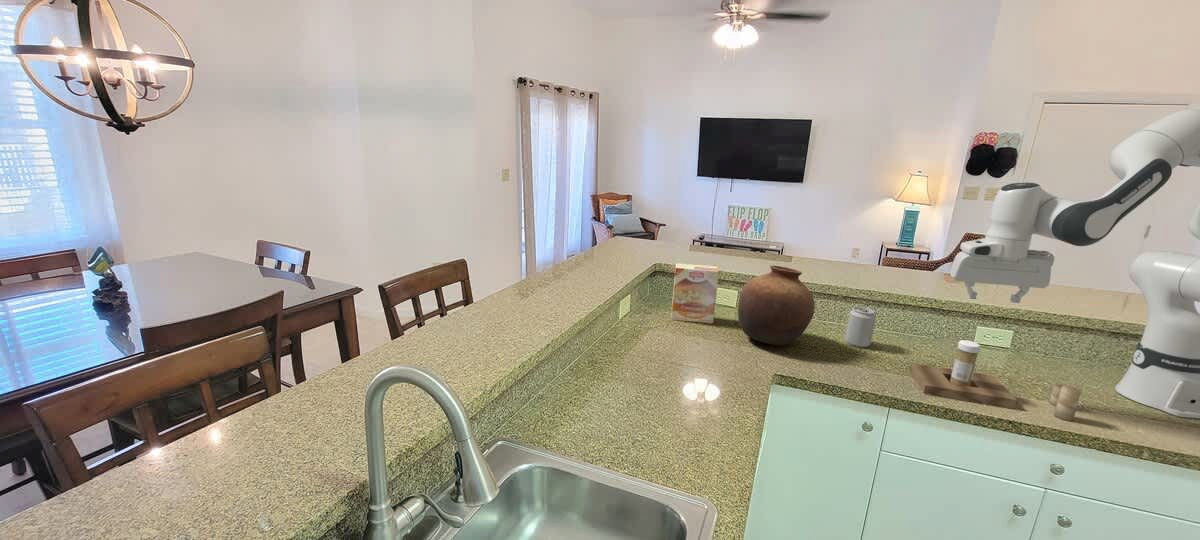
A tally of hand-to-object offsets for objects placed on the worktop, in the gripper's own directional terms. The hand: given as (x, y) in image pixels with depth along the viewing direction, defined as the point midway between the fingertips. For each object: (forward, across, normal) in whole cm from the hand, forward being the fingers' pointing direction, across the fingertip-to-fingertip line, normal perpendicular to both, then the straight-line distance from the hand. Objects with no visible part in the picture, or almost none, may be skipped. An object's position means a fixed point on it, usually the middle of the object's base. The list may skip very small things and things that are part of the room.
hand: (992, 300), depth 125 cm
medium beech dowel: (+25, -16, +10) cm, 31 cm away
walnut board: (+25, +4, +3) cm, 25 cm away
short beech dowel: (+26, -18, +3) cm, 31 cm away
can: (+25, +25, -20) cm, 41 cm away
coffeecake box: (+24, +79, -22) cm, 85 cm away
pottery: (+24, +52, -12) cm, 59 cm away
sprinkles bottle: (+25, +4, +3) cm, 26 cm away
